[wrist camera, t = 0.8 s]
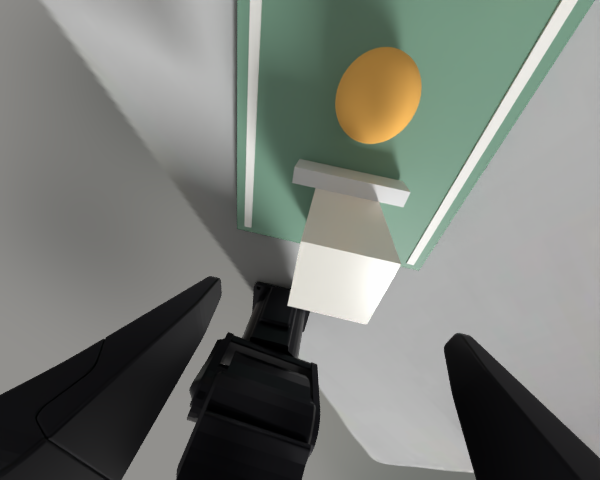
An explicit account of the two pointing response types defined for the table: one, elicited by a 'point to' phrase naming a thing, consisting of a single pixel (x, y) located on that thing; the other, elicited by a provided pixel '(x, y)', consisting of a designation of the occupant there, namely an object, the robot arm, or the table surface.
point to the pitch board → (423, 126)
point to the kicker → (345, 242)
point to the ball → (378, 95)
